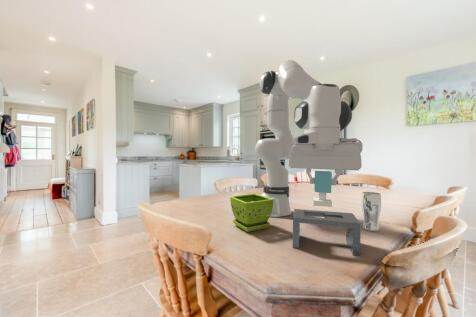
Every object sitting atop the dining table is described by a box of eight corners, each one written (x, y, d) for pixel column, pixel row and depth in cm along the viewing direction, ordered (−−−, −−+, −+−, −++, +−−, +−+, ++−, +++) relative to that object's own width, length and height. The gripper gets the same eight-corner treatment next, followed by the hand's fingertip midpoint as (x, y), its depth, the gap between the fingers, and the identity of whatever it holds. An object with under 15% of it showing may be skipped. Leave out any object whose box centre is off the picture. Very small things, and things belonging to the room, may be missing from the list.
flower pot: (229, 224, 96) (229, 196, 96) (255, 220, 103) (255, 193, 103) (245, 235, 84) (245, 202, 84) (274, 229, 91) (274, 198, 91)
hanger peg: (313, 205, 65) (314, 171, 65) (313, 201, 70) (313, 170, 69) (331, 207, 64) (332, 172, 63) (330, 203, 68) (331, 171, 68)
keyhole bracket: (292, 247, 73) (292, 217, 73) (294, 234, 84) (294, 209, 84) (360, 255, 67) (360, 223, 67) (352, 241, 79) (352, 213, 78)
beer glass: (382, 229, 91) (383, 193, 91) (378, 233, 86) (379, 195, 86) (364, 225, 96) (364, 191, 96) (359, 229, 91) (359, 193, 91)
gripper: (360, 138, 66) (358, 184, 66) (290, 138, 72) (289, 180, 72) (365, 137, 60) (363, 188, 60) (288, 137, 66) (287, 183, 66)
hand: (322, 184), depth 66 cm, fingers closed on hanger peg, 4 cm apart
